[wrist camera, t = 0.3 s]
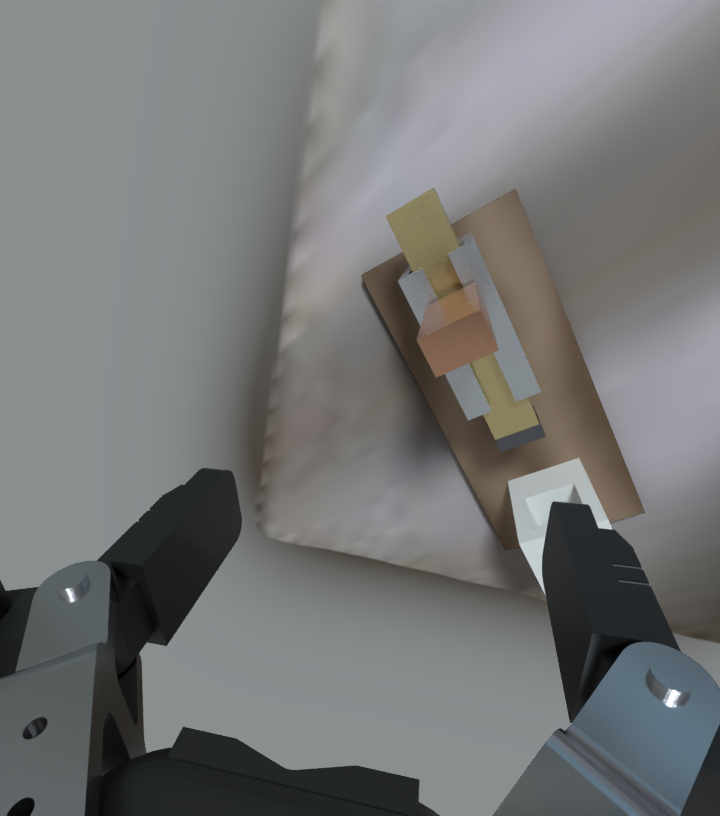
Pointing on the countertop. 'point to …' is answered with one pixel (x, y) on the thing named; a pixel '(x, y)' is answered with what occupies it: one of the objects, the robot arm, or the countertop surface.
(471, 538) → the countertop surface
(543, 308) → the base board
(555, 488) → the socket
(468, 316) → the sliding latch bolt
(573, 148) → the countertop surface
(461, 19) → the countertop surface
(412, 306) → the sleeve
